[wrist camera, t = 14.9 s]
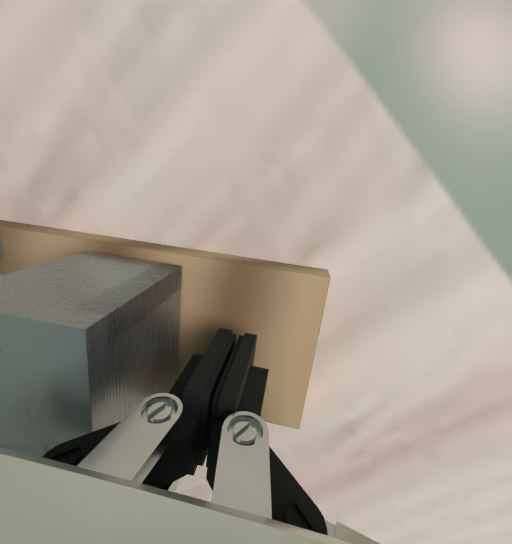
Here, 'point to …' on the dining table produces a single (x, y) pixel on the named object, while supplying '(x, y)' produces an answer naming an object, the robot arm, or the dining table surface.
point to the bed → (213, 303)
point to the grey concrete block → (84, 344)
